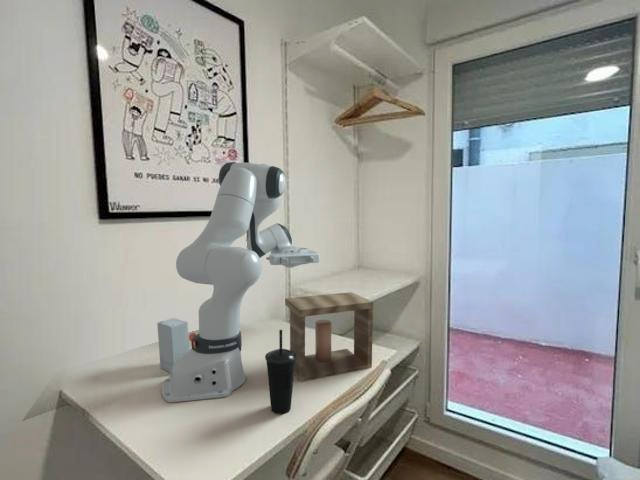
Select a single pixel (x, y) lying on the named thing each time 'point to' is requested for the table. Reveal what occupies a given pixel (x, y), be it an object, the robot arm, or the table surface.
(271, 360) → the drinking cup
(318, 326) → the peach tapered cylinder
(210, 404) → the table surface
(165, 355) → the skincare box
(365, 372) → the table surface
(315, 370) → the under counter shelf
